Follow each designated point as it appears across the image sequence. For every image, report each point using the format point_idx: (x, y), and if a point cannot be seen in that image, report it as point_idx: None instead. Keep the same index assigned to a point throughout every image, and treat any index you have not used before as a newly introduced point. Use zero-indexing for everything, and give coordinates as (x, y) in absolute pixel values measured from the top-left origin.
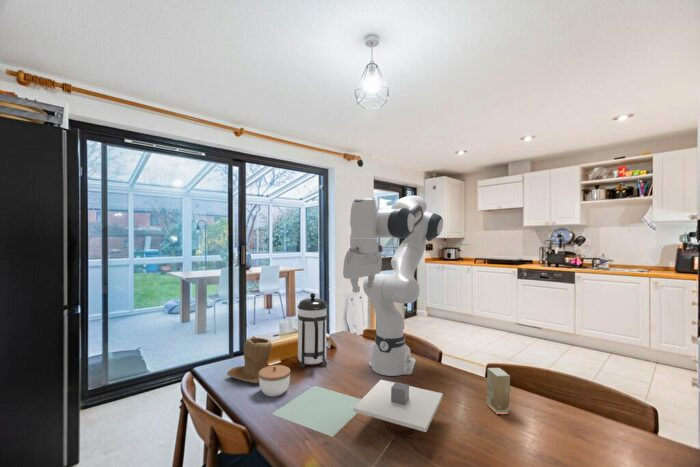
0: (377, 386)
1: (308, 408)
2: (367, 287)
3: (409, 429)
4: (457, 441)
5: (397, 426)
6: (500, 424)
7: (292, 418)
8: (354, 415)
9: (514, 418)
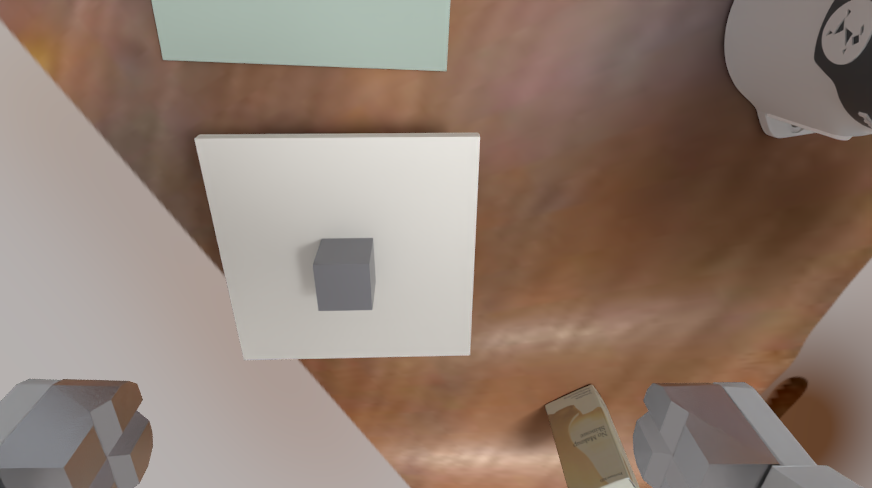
0: (408, 150)
1: None
2: (653, 407)
3: None
4: None
5: None
6: (502, 413)
7: None
8: (322, 65)
9: (545, 434)
